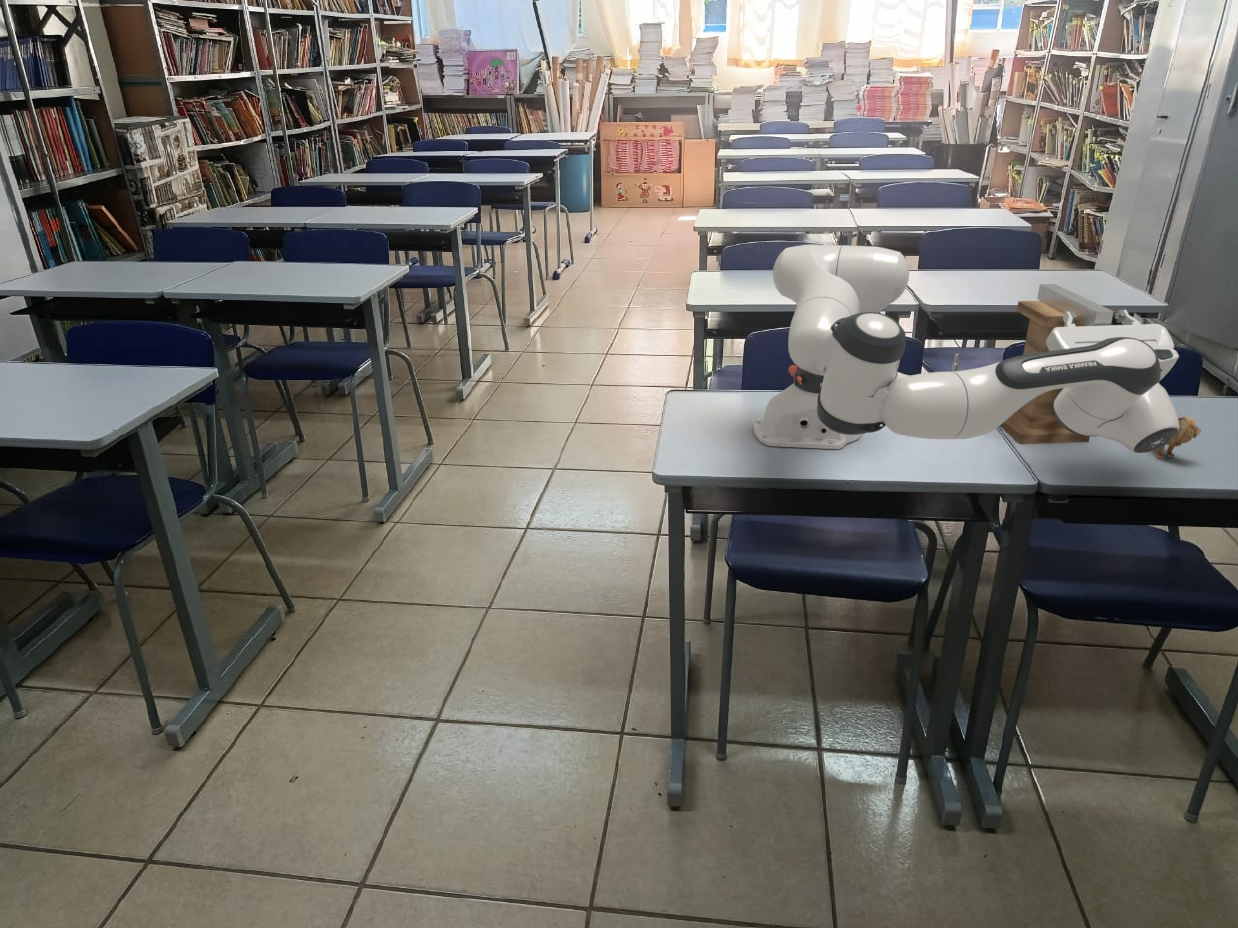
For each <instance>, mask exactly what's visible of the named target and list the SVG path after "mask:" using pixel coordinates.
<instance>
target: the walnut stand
mask: <svg viewBox="0 0 1238 928" xmlns="http://www.w3.org/2000/svg"><path fill="white" fill-rule="evenodd" d="M1016 312H1018V313H1020V314H1021V315H1023V316H1024V317H1027V318H1028V319H1029V322H1028V327H1027V328H1028V329H1027V333H1026V339H1025V344H1024V348H1023V354H1022V355H1025V354H1032V353H1039V352H1046V351H1049V349H1048V347H1047V345H1046V340H1047V338H1048V336H1049V334H1050V333H1051V332H1052V330H1053V329H1054V328H1055V327H1064V325H1065V322H1064V320H1063V315H1064V314H1065V313H1063V312H1061V311H1060V310H1058V309H1056V308H1054V307H1052V306H1050V305H1048V304H1046V303H1044V302H1042V301H1040V300H1018V302H1017V307H1016ZM1074 324H1075V326H1076V327H1077V326H1088V325H1086V324H1084V323H1083V322H1081V321H1079V320H1077V319H1076V320H1075V322H1074ZM1062 390H1063V388H1061V389H1054V390H1051V391H1048V392H1045V393H1043V394H1041V395H1039V396H1037V397H1035V398H1034V399H1032V400H1031V401H1029V402H1028V403H1027V404H1025V405H1024V406H1023V407H1021V408H1020V409H1019V410H1018V411H1016V412H1015V413H1014V414H1013V415H1012V416H1010V417H1009V418H1008V419H1007V420H1006V421H1005V422H1004V423H1002V424H1001V425H1000V426H999V427H1000V428H1001V429H1002V430H1003V431H1005V433H1007V434H1008V435H1009V436H1010V437H1011V438H1012V439H1013V440H1015V442H1016V443H1018V444H1020V445H1021V444H1022V445H1024V444H1027V445H1028V444H1056V443H1057V444H1061V443H1063V444H1065V443H1089V442H1090V437H1091V436H1079V435H1075V434H1073V433H1071V432H1069V431H1068V430H1066V429H1065V428H1064V427H1063V426H1062V425H1061V424H1060V422H1059V421H1058V419H1057V418H1056V416H1055V413H1054V409H1053V403H1054V400H1055V399H1056V398H1057V396H1058V395H1059V393H1060V392H1061V391H1062Z"/></svg>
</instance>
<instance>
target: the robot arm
mask: <svg viewBox="0 0 1238 928" xmlns="http://www.w3.org/2000/svg"><path fill="white" fill-rule="evenodd" d="M772 278H773V283H774V286H775V289H776V290H777V291H778V292H779V294H780V295H781V296H783V297H786V298H788V299H790V300H791V301H792V302H794V303H795V304H796V308H795V310H794V313H793V317H792V319H791V322H790V326H789V331H788V343H787V344H788V345H787V346H788V353H789V357H790V359H791V360H792V361H793V363H794V364H792V365H790V366H789V367H788V373H789V374H790V375H791V377H793V383H792V384H791V385H790V386H788V387H787V388H785V389H784V390H782V391H781V392H779V393H777V394H776V395H774V396H773V397H771V398H770V399H769V400H768V401H767V405H766V406H765V411H764V416H762V417H761V416H760V417H757V418H756V419H755V420H754V422H753V424H752V425H753V426H752V431H753V435H754V436H755V438H756V439H757V440H758V441H759V442H760V443H762V444H764V445H766V446H768V447H782V448H783V447H784V448H801V449H802V448H803V449H823V450H824V449H825V450H840V449H843V448H844V447H845V446H846V445H847V444H850V443H852V442H854V441H857V440H858V439H859V438H861V436H862V435H863V434H867V433H868V434H871V433H875V432H879V431H881V430H882V429H883V428H885V427H887V429H889V431H891V432H893V433H894V434H896V435H900V436H904V437H905V436H906V437H911V438H917V439H927V440H966V439H972V438H977V437H981V436H984V435H987V434H989V433H992V432H993V431H995V430H996V429H998V428H999V427H1000V425H1001V424H1002V423H1004V422H1005V421H1006V420H1007V419H1008V418H1009V417H1010V416H1012V415H1013V414H1014V413H1015V412H1016V411H1018V410H1019V409H1020V408H1021V407H1023V406H1024V405H1025V404H1027V403H1028V402H1029V401H1031V400H1032V399H1034V398H1035V397H1037V396H1039V395H1041V394H1043V393H1045V392H1048V391H1051V390H1054V389H1061V388H1063V390H1062V391H1061V392H1060V393H1059V395H1058V396H1057V398H1056V399H1055V400H1054V403H1053V409H1054V413H1055V416H1056V418H1057V419H1058V421H1059V422H1060V424H1061V425H1062V426H1063V427H1064V428H1065V429H1066V430H1068V431H1069V432H1071V433H1073V434H1075V435H1079V436H1090V437H1099V438H1105V439H1108V440H1112V441H1115V442H1117V443H1119V444H1121V445H1122V446H1125V447H1126V448H1127V449H1128V450H1130V451H1131V452H1133V453H1135V454H1146V453H1150V452H1151V453H1152V452H1153V451H1156V450H1158V448H1160V447H1163V446H1164V445H1165V444H1167V443H1168V442H1169V441H1170V440H1172V439H1173V438H1174V437H1175V436H1176V435H1177V433H1178V431H1179V420H1178V418H1179V417H1178V414H1177V411H1176V408H1175V406H1174V404H1173V402H1172V400H1171V398H1170V395H1169V393H1168V392H1167V390H1166V388H1164V386H1162V385H1161V384H1160V381H1161V380H1163V379H1164V378H1165V376H1166V375H1167V374H1168V373H1169V372H1170V371H1171V369H1172V368H1173V367H1174V365H1175V364H1176V362H1177V361H1178V359H1179V358H1180V355H1179V353H1178V351H1177V350H1175V344H1174V341H1173V338H1172V337H1171V334H1170V333H1169V332H1168V329H1167V328H1166V327H1165V326H1163V325H1162V324H1160V323H1148V324H1147V323H1146V324H1143V323H1141V322H1140V321H1139V320H1137V319H1136V318H1134V316H1131V315H1130V314H1129V312H1128V310H1127V309H1117V310H1116V312H1114V313H1113V318H1114V319H1115V322H1116V324H1115V325H1114V324H1111V325H1109V326H1077V327H1076V326H1075V324H1074V322H1075V320H1076V319H1077V315H1076V314H1075V312H1074V311H1069V312H1065V314H1064V315H1063V320H1064V322H1065V325H1064V327H1055V328H1054V329H1053V330H1052V332H1051V333H1050V334H1049V336H1048V338H1047V340H1046V345H1047V347H1048V349H1049V351H1046V352H1039V353H1032V354H1025V355H1023V354H1022V355H1021V354H1020V355H1016V356H1013V357H1010V358H1006V359H1004V360H1001V361H997V362H995V363H992V364H989V365H984V366H981V367H976V368H970V369H965V370H964V369H963V370H957V371H952V370H951V371H952V372H951V371H933V372H932V371H931V372H923V373H918V374H912V375H908V374H904V373H902V372H899V371H898V369H899V365H900V362H901V359H902V358H903V356H904V354H905V349H906V348H905V347H906V343H907V342H906V340H907V337H906V335H907V334H906V331H905V329H904V328H903V327H902V326H901V324H900V323H899V322H898V321H897V320H896V319H894V318H893V317H891V316H889V315H886V314H884V313H881V311H882V310H884V309H885V308H886V307H887V306H889V305H890V304H893V303H894V302H896V301H897V300H898V299H899V298H900V297H901V296H902V295H903V294H904V292H905V290H906V289H907V287H908V284H909V281H910V280H909V278H910V267H909V264H908V262H907V260H906V257H905V256H904V255H903V253H902V252H901V251H898V250H893V249H889V248H886V247H881V246H876V245H875V246H870V245H869V246H868V245H844V244H843V245H839V244H814V243H813V244H811V243H810V244H809V243H808V244H801V245H796V246H795V245H794V246H789V247H786V248H784V249H783V250H782V251H781V252H780V254H779V255H778V256H777V258H776V259H775V262H774V265H773V269H772ZM1118 323H1119V324H1118ZM1120 323H1121V324H1120ZM1165 446H1166V445H1165Z"/></svg>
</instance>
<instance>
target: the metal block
mask: <svg viewBox="0 0 1238 928" xmlns="http://www.w3.org/2000/svg"><path fill="white" fill-rule="evenodd" d="M1036 298H1037V301H1042V302H1044V303H1046V304H1048V305H1050V306H1052V307H1054V308H1056V309H1058V310H1060V311H1061V312H1063V313H1065V312H1069V311H1074V312H1075V314H1076V315H1077V320H1079V321H1081V322H1083V323H1084V324H1086V325H1088V326H1109V325H1112V321H1113V318H1114V314H1115V311H1113V310H1112V309H1110V308H1107V307H1105V306H1102V305H1101V304H1100V303H1097V302H1095V301H1092V300H1090V299H1088V298H1086V297H1084V296H1082V295H1080V294H1077V293H1076V292H1074V291H1070V290H1069V289H1067V288H1065V287H1062V286H1061V285H1058V284H1056V283H1042V284H1041V283H1040V284H1039V286H1038V293H1037V297H1036Z"/></svg>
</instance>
